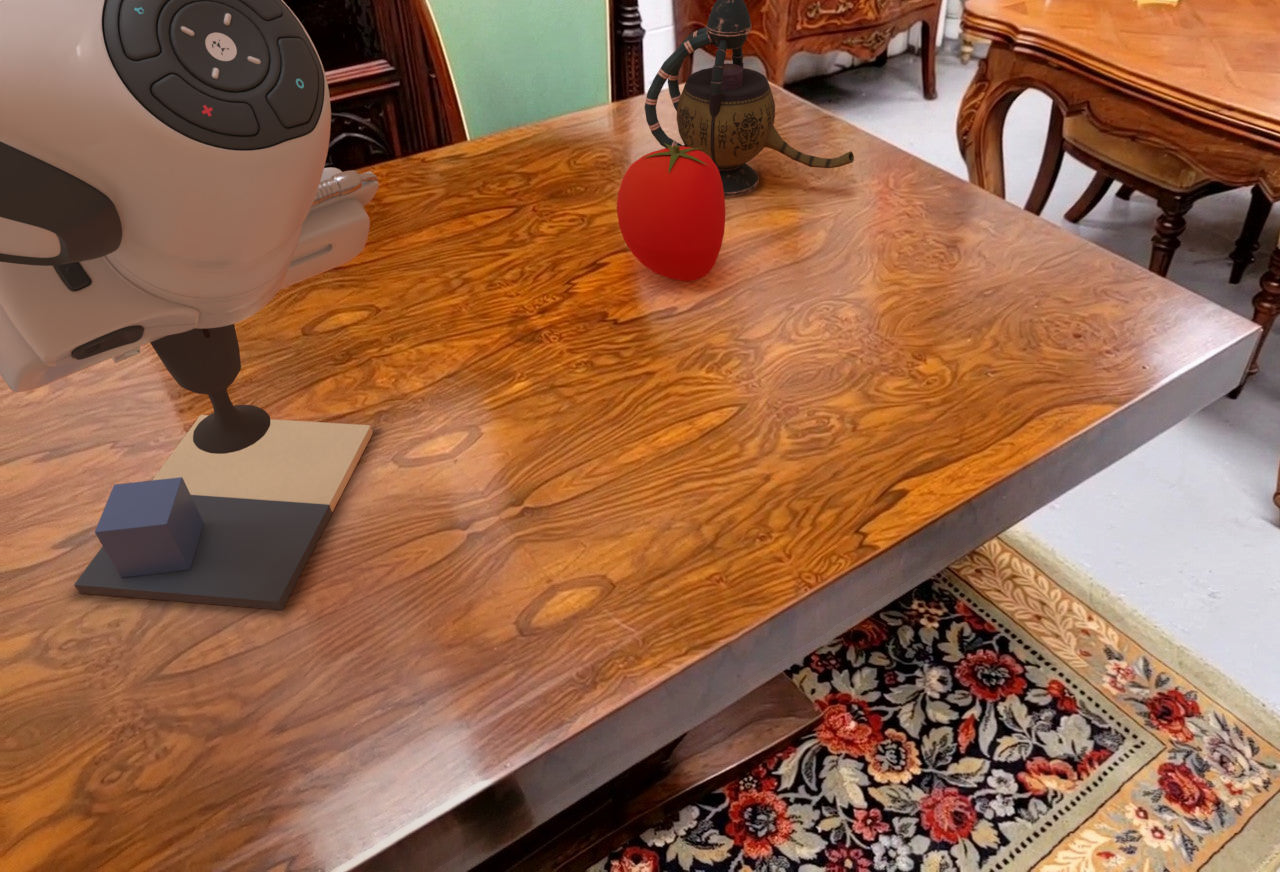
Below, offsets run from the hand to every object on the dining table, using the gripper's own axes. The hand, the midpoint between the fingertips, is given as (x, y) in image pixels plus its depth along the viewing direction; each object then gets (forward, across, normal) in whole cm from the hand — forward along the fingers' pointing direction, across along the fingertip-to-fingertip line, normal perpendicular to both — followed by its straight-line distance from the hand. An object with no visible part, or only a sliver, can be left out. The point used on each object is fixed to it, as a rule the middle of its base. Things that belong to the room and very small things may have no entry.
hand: (185, 320), depth 57 cm
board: (+22, 0, +10) cm, 24 cm away
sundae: (+6, 0, +6) cm, 9 cm away
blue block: (+20, +6, +10) cm, 23 cm away
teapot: (+29, -73, +3) cm, 79 cm away
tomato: (+24, -51, +9) cm, 57 cm away
